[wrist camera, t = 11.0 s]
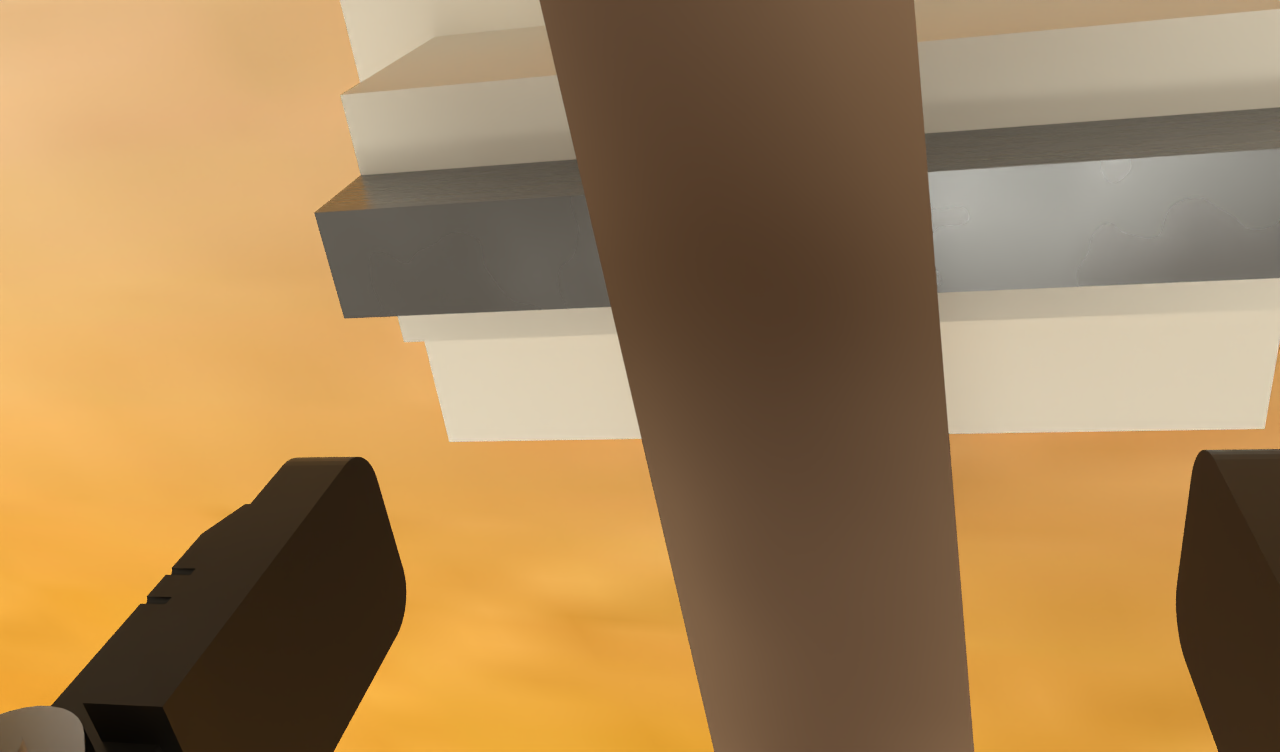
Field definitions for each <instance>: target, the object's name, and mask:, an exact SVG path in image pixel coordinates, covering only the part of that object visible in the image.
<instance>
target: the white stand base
mask: <svg viewBox="0 0 1280 752" xmlns="http://www.w3.org/2000/svg"><path fill="white" fill-rule="evenodd" d="M340 3H341V7H342V11H343V15H344V19H345V23H346V27H347V31H348V35H349V39H350V43H351V47H352V51H353V55H354V59H355V63H356V67H357V71H358V76H359V80H360V83H359V84H357V85H356V86H354V87H353V88H351V89H349V90H348V91H346V92H344V93H343V94H341V95H340V96H341V99H342V103H343V107H344V111H345V115H346V119H347V123H348V127H349V130H350V134H351V138H352V142H353V146H354V150H355V154H356V158H357V161H358V165H359V169H360V173H361V176H359V177H358V178H357V179H356V180H355V181H353V182H352V183H351V184H350V185H348V186H347V187H346V188H345V189H343V190H342V191H341V192H340V193H338V194H337V195H336V196H335V197H333V198H332V199H331V200H330V201H328V202H327V203H326V204H325V205H323V206H322V207H321V208H320V209H319V210H317V211H316V212H315V217H316V220H317V224H318V227H319V231H320V234H321V238H322V241H323V245H324V248H325V252H326V255H327V259H328V262H329V266H330V269H331V273H332V277H333V280H334V284H335V287H336V291H337V294H338V298H339V301H340V305H341V308H342V312H343V315H344V318H365V317H388V316H398V320H399V324H400V328H401V332H402V336H403V340H404V342H421V341H424V342H425V346H426V350H427V354H428V358H429V362H430V366H431V370H432V374H433V378H434V382H435V386H436V390H437V394H438V398H439V402H440V406H441V410H442V414H443V418H444V422H445V426H446V430H447V434H448V438H449V442H469V441H532V440H595V439H642V438H641V434H640V430H639V426H638V421H637V417H636V413H635V408H634V404H633V400H632V395H631V391H630V387H629V383H628V378H627V374H626V370H625V365H624V361H623V357H622V353H621V348H620V344H619V340H618V335H617V331H616V327H615V322H614V318H613V314H612V310H611V305H610V301H609V297H608V292H607V288H606V284H605V280H604V275H603V271H602V267H601V262H600V258H599V254H598V250H597V245H596V241H595V237H594V232H593V228H592V224H591V219H590V215H589V211H588V207H587V202H586V198H585V194H584V189H583V185H582V181H581V177H580V172H579V168H578V164H577V159H576V155H575V151H574V146H573V142H572V138H571V134H570V129H569V125H568V121H567V116H566V112H565V108H564V104H563V99H562V95H561V91H560V86H559V82H558V78H557V73H556V69H555V65H554V61H553V56H552V52H551V48H550V43H549V39H548V35H547V31H546V26H545V22H544V18H543V13H542V9H541V5H540V1H539V0H340ZM914 6H915V18H916V31H917V43H918V56H919V68H920V81H921V93H922V106H923V118H924V131H925V143H926V156H927V169H928V181H929V194H930V206H931V219H932V231H933V244H934V256H935V269H936V281H937V294H938V306H939V319H940V331H941V344H942V356H943V369H944V381H945V394H946V406H947V419H948V431H949V434H973V433H1036V432H1099V431H1162V430H1225V429H1265V424H1266V418H1267V412H1268V406H1269V400H1270V394H1271V388H1272V383H1273V377H1274V371H1275V365H1276V359H1277V353H1278V347H1279V342H1280V0H914Z"/></svg>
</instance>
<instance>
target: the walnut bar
mask: <svg viewBox="0 0 1280 752" xmlns="http://www.w3.org/2000/svg"><path fill="white" fill-rule="evenodd" d="M539 1H540V5H541V9H542V13H543V18H544V22H545V26H546V31H547V35H548V39H549V43H550V48H551V52H552V56H553V61H554V65H555V69H556V73H557V78H558V82H559V86H560V91H561V95H562V99H563V104H564V108H565V112H566V116H567V121H568V125H569V129H570V134H571V138H572V142H573V146H574V151H575V155H576V159H577V164H578V168H579V172H580V177H581V181H582V185H583V189H584V194H585V198H586V202H587V207H588V211H589V215H590V219H591V224H592V228H593V232H594V237H595V241H596V245H597V250H598V254H599V258H600V262H601V267H602V271H603V275H604V280H605V284H606V288H607V292H608V297H609V301H610V305H611V310H612V314H613V318H614V322H615V327H616V331H617V335H618V340H619V344H620V348H621V353H622V357H623V361H624V365H625V370H626V374H627V378H628V383H629V387H630V391H631V395H632V400H633V404H634V408H635V413H636V417H637V421H638V426H639V430H640V434H641V438H642V443H643V447H644V451H645V456H646V460H647V464H648V468H649V473H650V477H651V481H652V486H653V490H654V494H655V499H656V503H657V507H658V511H659V516H660V520H661V524H662V529H663V533H664V537H665V541H666V546H667V550H668V554H669V559H670V563H671V567H672V571H673V576H674V580H675V584H676V589H677V593H678V597H679V602H680V606H681V610H682V614H683V619H684V623H685V627H686V632H687V636H688V640H689V644H690V649H691V653H692V657H693V662H694V666H695V670H696V675H697V679H698V683H699V687H700V692H701V696H702V700H703V705H704V709H705V713H706V717H707V722H708V726H709V730H710V735H711V739H712V743H713V748H714V752H974V744H973V732H972V719H971V707H970V694H969V682H968V669H967V657H966V644H965V632H964V619H963V607H962V594H961V582H960V569H959V557H958V544H957V532H956V519H955V507H954V494H953V482H952V469H951V456H950V444H949V431H948V419H947V406H946V394H945V381H944V369H943V356H942V344H941V331H940V319H939V306H938V294H937V281H936V269H935V256H934V244H933V231H932V219H931V206H930V194H929V181H928V169H927V156H926V143H925V131H924V118H923V106H922V93H921V81H920V68H919V56H918V43H917V31H916V18H915V6H914V0H539Z"/></svg>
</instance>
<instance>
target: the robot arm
mask: <svg viewBox="0 0 1280 752" xmlns="http://www.w3.org/2000/svg"><path fill="white" fill-rule="evenodd" d="M405 605H406V581H405V575H404V570H403V567H402V563H401V560H400V556H399V553H398V550H397V546H396V543H395V539H394V536H393V532H392V529H391V525H390V522H389V519H388V515H387V512H386V508H385V505H384V501H383V498H382V494H381V491H380V488H379V484H378V481H377V478H376V475H375V472H374V470H373V468H372V466H371V465H370V464H369V462H368V461H367V460H365V459H364V458H361V457H312V458H293V459H290V460H289V461H287V462H286V463H285V464H284V465H283V466H282V467H281V468H280V470H279V471H278V472H277V473H276V474H275V475H274V477H273V478H272V479H271V480H270V481H269V483H268V484H267V485H266V486H265V487H264V489H263V490H262V491H261V492H260V493H259V494H258V496H257V497H256V498H255V499H254V500H253V502H252V503H251V504H245V505H243V506H242V507H240V508H239V509H237V510H236V511H235V512H233V513H232V514H230V515H229V516H227V517H226V518H224V519H223V520H221V521H220V522H218V523H217V524H216V525H214V526H213V527H211V528H210V529H208V530H207V531H205V532H204V533H202V534H201V535H200V536H199V538H198V539H197V540H196V541H195V542H194V543H193V544H192V546H191V547H190V548H189V549H188V550H187V551H186V552H185V554H184V555H183V556H182V557H181V558H180V559H179V560H178V562H177V563H176V564H175V565H174V566H173V567H172V574H171V575H165V576H164V578H163V579H162V580H161V581H160V582H159V583H158V584H157V586H156V587H155V588H154V589H153V590H152V591H151V592H150V594H149V595H148V596H147V603H146V604H140V605H139V606H138V607H137V608H136V610H135V611H134V612H133V613H132V614H131V615H130V616H129V618H128V619H127V620H126V621H125V622H124V623H123V624H122V626H121V627H120V628H119V629H118V630H117V631H116V632H115V634H114V635H113V636H112V637H111V638H110V639H109V640H108V642H107V643H106V644H105V645H104V646H103V647H102V648H101V649H100V651H99V652H98V653H97V654H96V655H95V656H94V657H93V659H92V660H91V661H90V662H89V663H88V664H87V665H86V667H85V668H84V669H83V670H82V671H81V672H80V673H79V675H78V676H77V677H76V678H75V679H74V680H73V681H72V683H71V684H70V685H69V686H68V687H67V688H66V689H65V691H64V692H63V693H62V694H61V695H60V696H59V697H58V699H57V700H56V701H55V702H54V703H53V704H52V705H51V706H35V707H27V708H22V709H17V710H13V711H9V712H6V713H3V714H0V752H334V750H335V748H336V746H337V744H338V743H339V741H340V739H341V737H342V735H343V733H344V731H345V730H346V728H347V726H348V724H349V722H350V720H351V719H352V717H353V715H354V713H355V711H356V709H357V708H358V706H359V704H360V702H361V700H362V698H363V697H364V695H365V693H366V691H367V689H368V687H369V686H370V684H371V682H372V680H373V678H374V676H375V675H376V673H377V671H378V669H379V667H380V665H381V664H382V662H383V660H384V658H385V656H386V654H387V652H388V651H389V649H390V647H391V645H392V643H393V641H394V640H395V638H396V636H397V634H398V632H399V630H400V627H401V624H402V621H403V617H404V612H405ZM1176 613H1177V625H1178V632H1179V638H1180V643H1181V648H1182V652H1183V655H1184V658H1185V661H1186V664H1187V667H1188V670H1189V672H1190V675H1191V678H1192V680H1193V683H1194V686H1195V689H1196V691H1197V694H1198V697H1199V700H1200V702H1201V705H1202V708H1203V711H1204V713H1205V716H1206V719H1207V721H1208V724H1209V727H1210V730H1211V732H1212V735H1213V738H1214V741H1215V743H1216V746H1217V749H1218V752H1280V449H1258V450H1202V451H1201V452H1199V454H1198V455H1197V457H1196V460H1195V462H1194V466H1193V470H1192V476H1191V484H1190V491H1189V499H1188V506H1187V513H1186V521H1185V528H1184V536H1183V543H1182V551H1181V558H1180V566H1179V573H1178V581H1177V590H1176Z"/></svg>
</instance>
